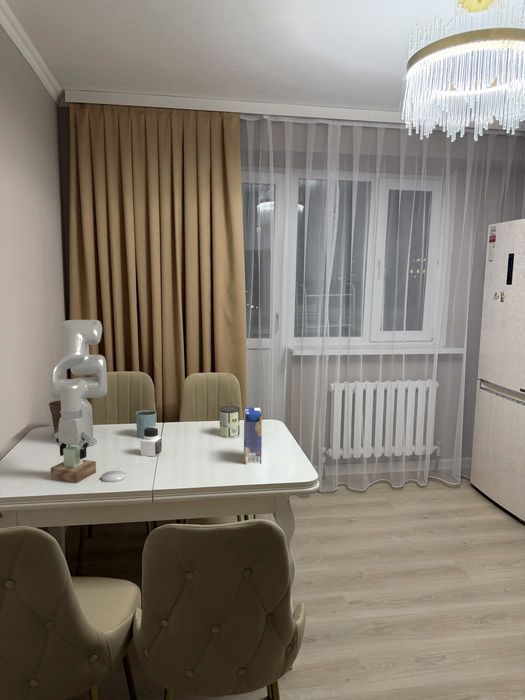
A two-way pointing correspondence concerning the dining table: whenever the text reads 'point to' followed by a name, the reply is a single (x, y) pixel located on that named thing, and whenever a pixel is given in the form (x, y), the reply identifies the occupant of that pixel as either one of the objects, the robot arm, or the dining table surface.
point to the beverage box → (252, 435)
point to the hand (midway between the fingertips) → (73, 456)
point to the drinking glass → (144, 421)
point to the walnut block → (73, 471)
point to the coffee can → (229, 421)
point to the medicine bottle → (151, 442)
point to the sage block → (72, 456)
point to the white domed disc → (113, 476)
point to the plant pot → (55, 413)
